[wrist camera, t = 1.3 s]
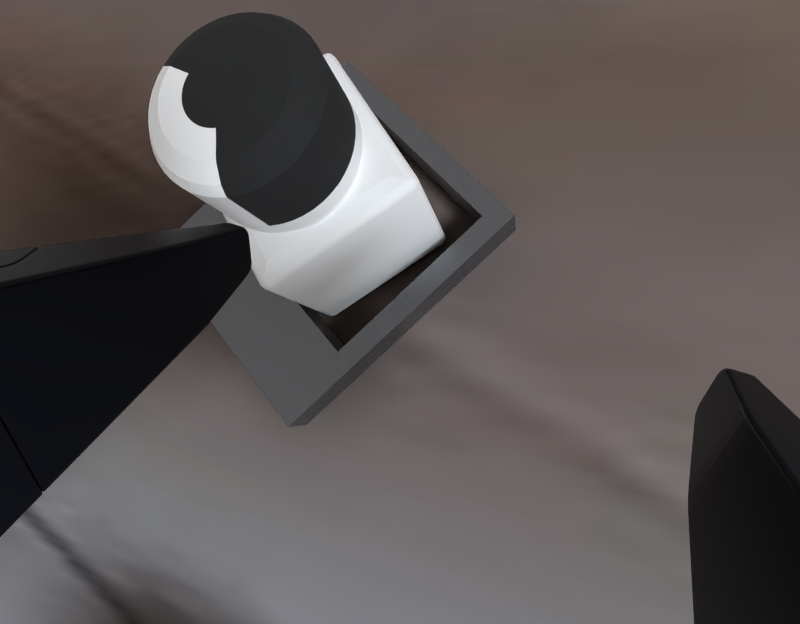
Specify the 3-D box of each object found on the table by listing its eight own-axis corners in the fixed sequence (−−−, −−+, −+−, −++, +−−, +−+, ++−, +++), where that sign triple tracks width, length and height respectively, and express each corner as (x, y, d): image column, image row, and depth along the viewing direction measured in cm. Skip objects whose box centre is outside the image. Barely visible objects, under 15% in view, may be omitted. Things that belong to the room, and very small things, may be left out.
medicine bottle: (379, 137, 26) (265, -68, 14) (449, 241, 24) (383, 101, 13) (271, 213, 27) (84, 76, 15) (332, 320, 25) (169, 255, 13)
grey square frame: (306, 424, 24) (288, 426, 22) (183, 260, 28) (157, 250, 26) (515, 229, 23) (514, 215, 21) (360, 84, 27) (348, 61, 25)
